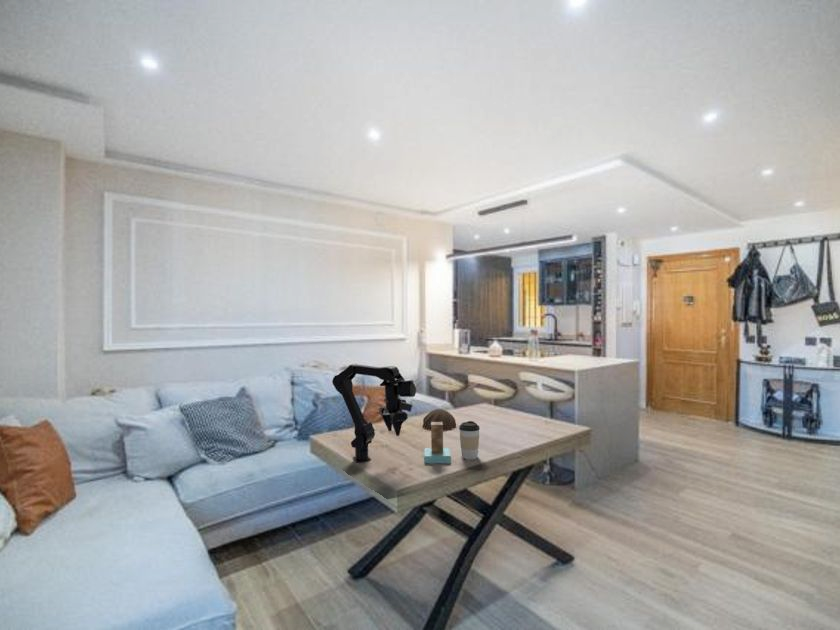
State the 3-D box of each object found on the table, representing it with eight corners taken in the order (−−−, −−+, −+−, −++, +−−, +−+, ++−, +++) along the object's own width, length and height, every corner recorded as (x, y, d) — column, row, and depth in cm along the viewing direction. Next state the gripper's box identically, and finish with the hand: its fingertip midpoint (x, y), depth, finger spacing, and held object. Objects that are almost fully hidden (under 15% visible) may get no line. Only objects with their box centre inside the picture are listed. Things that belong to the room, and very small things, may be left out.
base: (424, 463, 176) (424, 456, 176) (424, 454, 187) (424, 448, 187) (450, 463, 176) (450, 456, 176) (449, 454, 187) (449, 447, 187)
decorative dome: (460, 430, 227) (460, 412, 227) (424, 431, 225) (424, 413, 225) (453, 421, 246) (453, 404, 247) (420, 422, 244) (420, 405, 244)
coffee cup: (477, 461, 178) (476, 426, 178) (456, 458, 181) (456, 424, 181) (482, 454, 186) (481, 421, 186) (462, 452, 190) (462, 419, 190)
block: (431, 453, 179) (431, 424, 179) (431, 450, 184) (431, 421, 184) (443, 453, 179) (442, 424, 179) (442, 450, 184) (442, 421, 184)
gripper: (418, 397, 171) (420, 435, 170) (401, 391, 188) (403, 426, 187) (392, 400, 166) (395, 439, 166) (377, 394, 183) (379, 429, 183)
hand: (393, 433), depth 176 cm, fingers open, 9 cm apart
